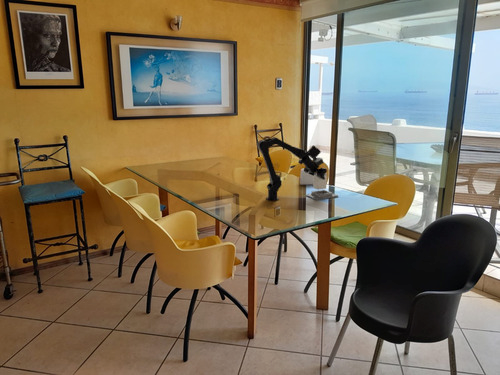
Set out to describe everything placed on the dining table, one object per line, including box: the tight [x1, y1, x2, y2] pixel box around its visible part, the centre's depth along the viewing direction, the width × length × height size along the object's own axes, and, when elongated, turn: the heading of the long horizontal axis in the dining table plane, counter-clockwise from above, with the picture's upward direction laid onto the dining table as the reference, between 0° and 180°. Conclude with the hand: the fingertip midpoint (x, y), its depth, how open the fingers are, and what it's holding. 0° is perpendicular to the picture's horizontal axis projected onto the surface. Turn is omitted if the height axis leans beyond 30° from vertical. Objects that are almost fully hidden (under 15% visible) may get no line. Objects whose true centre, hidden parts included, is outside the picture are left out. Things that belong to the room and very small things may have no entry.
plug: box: [312, 172, 328, 191], centre depth 248 cm, size 5×7×10 cm
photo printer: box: [299, 167, 314, 185], centre depth 279 cm, size 10×4×12 cm, turn 90°
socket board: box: [305, 189, 339, 201], centre depth 247 cm, size 12×18×3 cm, turn 116°
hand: (321, 178), depth 248 cm, fingers closed on plug, 5 cm apart
